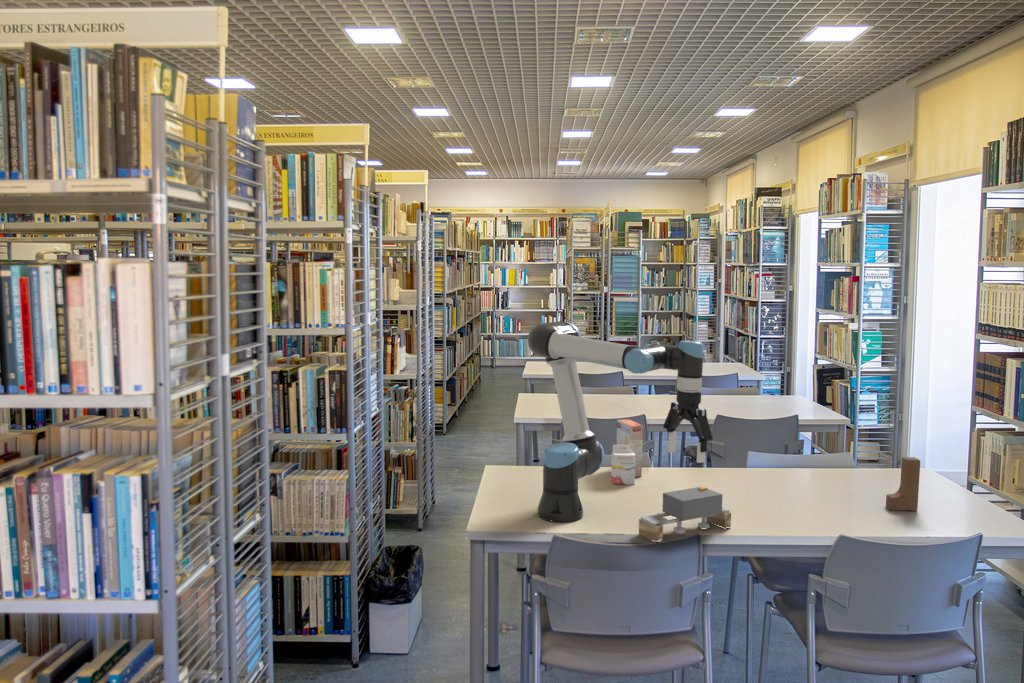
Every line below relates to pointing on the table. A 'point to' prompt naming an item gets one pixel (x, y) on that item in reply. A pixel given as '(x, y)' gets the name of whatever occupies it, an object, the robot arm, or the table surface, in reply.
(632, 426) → the cracker box
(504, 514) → the table surface
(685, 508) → the grey box orange tab
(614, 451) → the ink cartridge box
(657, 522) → the keyhole board
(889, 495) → the wooden block
